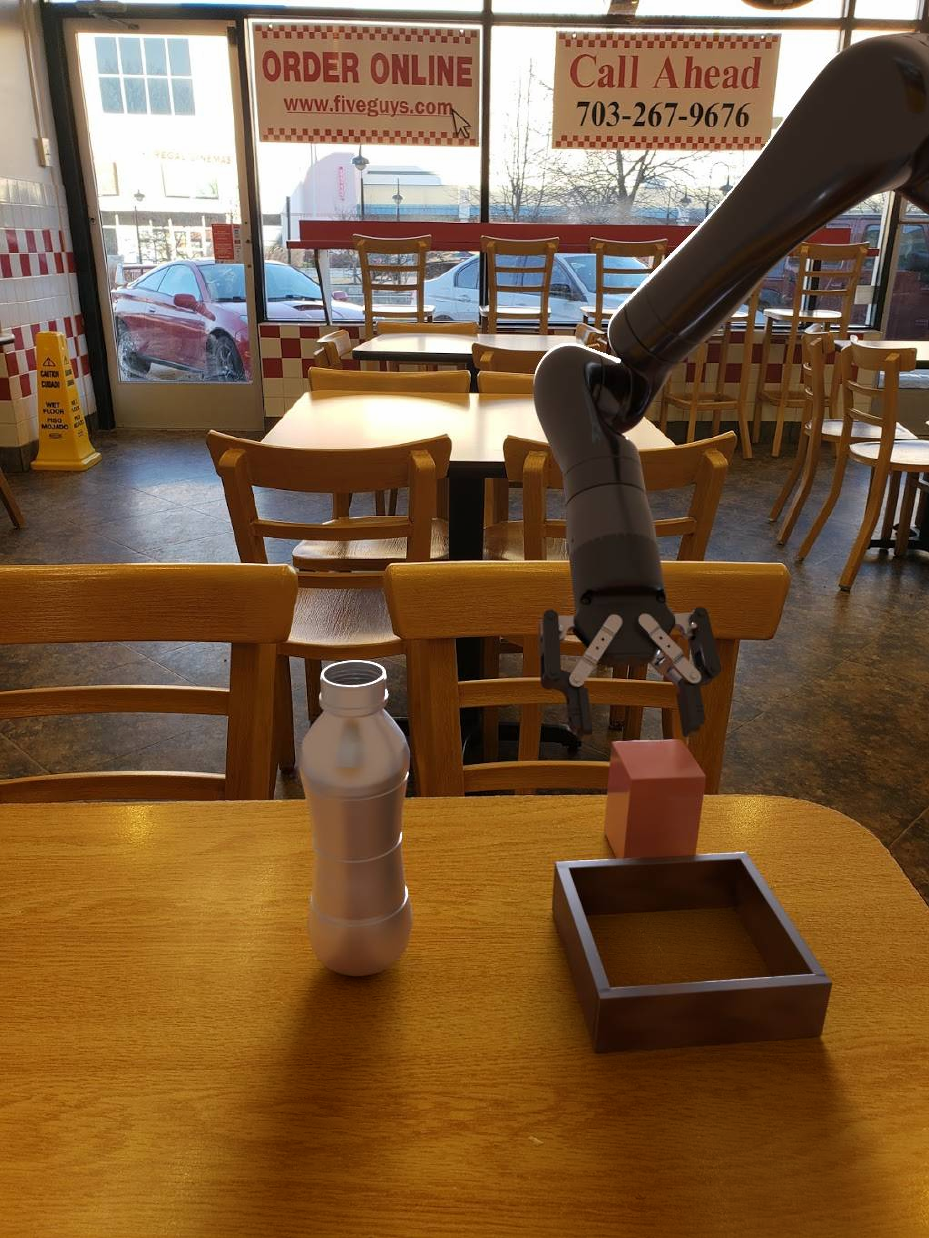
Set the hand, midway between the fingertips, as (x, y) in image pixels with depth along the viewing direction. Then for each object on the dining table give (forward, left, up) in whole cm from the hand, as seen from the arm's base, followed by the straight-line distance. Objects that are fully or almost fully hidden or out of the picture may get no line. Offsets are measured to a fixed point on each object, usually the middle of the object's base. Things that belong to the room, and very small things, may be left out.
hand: (639, 736), depth 73 cm
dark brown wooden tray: (+2, +17, -8) cm, 19 cm away
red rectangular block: (0, +4, -8) cm, 9 cm away
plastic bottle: (+22, +14, -8) cm, 27 cm away
